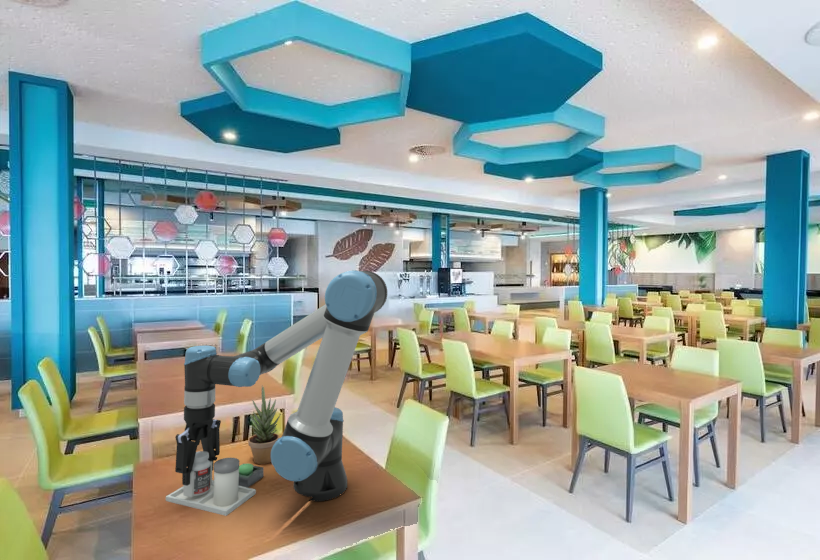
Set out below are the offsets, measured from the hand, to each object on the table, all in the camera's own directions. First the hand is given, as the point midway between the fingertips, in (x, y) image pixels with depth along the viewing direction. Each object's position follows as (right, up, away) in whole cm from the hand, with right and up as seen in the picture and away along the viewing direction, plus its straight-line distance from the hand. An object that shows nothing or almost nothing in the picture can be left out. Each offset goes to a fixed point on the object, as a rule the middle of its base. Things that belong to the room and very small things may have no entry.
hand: (198, 489), depth 118 cm
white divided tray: (+4, -3, -1) cm, 5 cm away
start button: (+10, +1, +8) cm, 13 cm away
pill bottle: (0, -1, 0) cm, 1 cm away
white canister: (+9, -1, -3) cm, 9 cm away
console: (+9, -3, +9) cm, 13 cm away
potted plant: (+9, -2, +24) cm, 26 cm away
